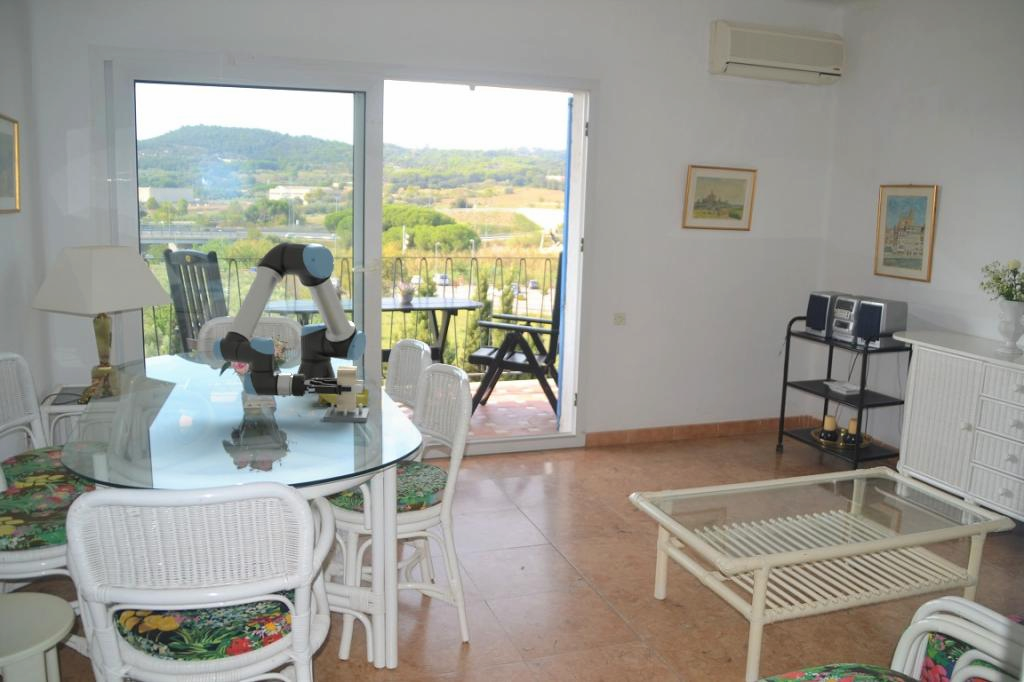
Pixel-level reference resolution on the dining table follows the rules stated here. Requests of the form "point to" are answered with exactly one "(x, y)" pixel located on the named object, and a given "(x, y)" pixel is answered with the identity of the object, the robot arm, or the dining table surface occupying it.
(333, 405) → the pin plate
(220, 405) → the dining table surface
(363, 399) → the plastic component
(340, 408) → the birch block
